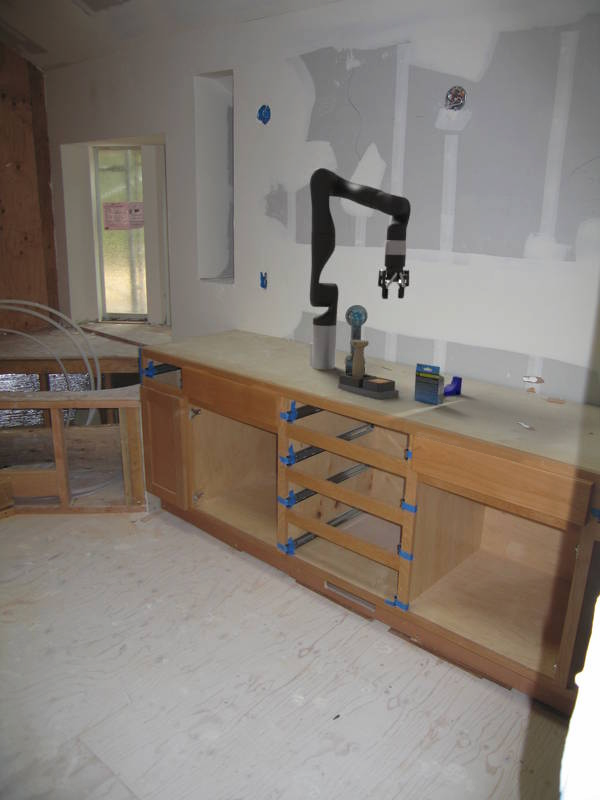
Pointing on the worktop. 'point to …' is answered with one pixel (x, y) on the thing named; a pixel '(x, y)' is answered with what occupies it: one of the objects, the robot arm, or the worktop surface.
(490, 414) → the worktop surface
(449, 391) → the blue curved piece
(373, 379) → the button
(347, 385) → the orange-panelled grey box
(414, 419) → the worktop surface
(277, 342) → the worktop surface
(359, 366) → the handle
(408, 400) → the worktop surface
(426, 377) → the label tape box
